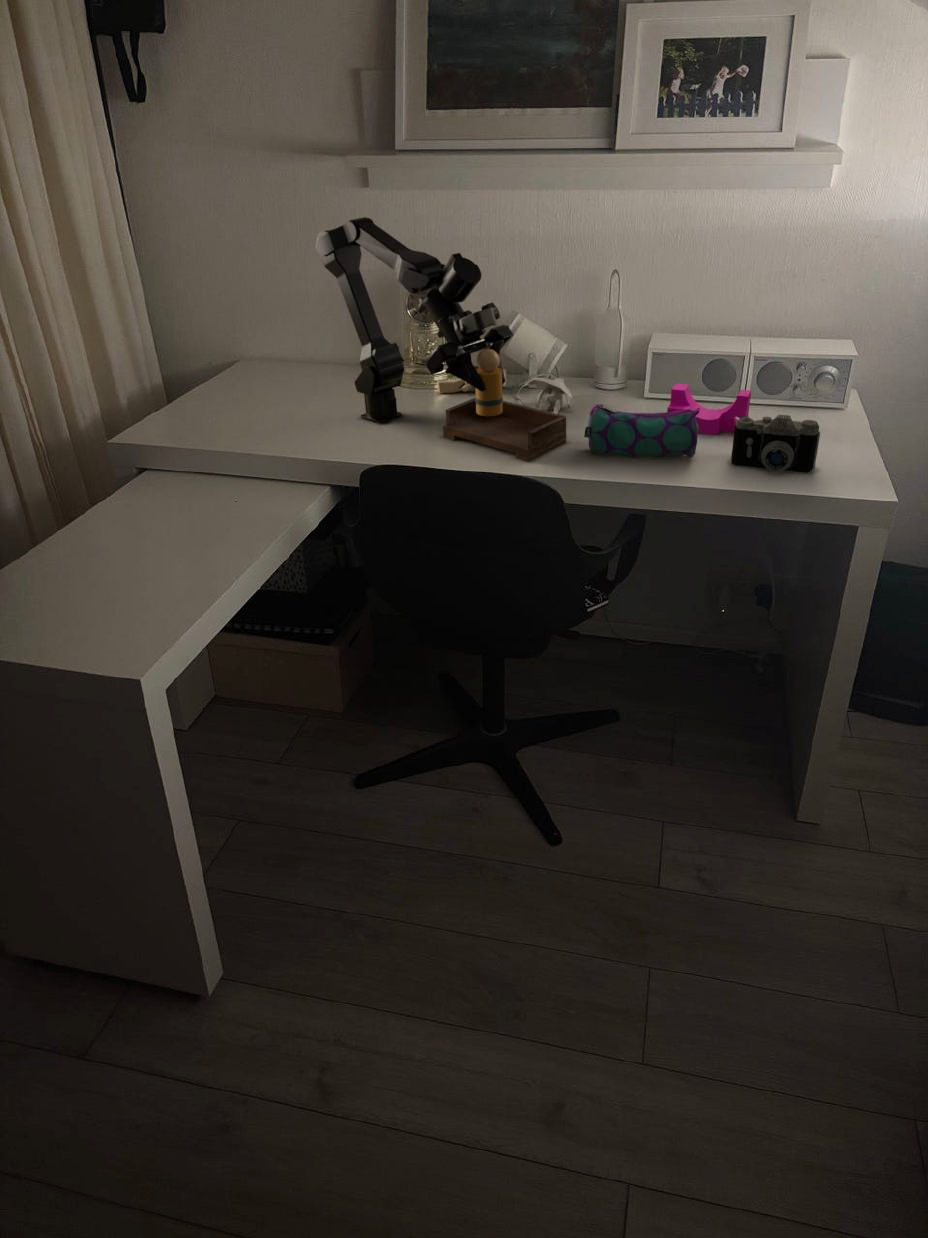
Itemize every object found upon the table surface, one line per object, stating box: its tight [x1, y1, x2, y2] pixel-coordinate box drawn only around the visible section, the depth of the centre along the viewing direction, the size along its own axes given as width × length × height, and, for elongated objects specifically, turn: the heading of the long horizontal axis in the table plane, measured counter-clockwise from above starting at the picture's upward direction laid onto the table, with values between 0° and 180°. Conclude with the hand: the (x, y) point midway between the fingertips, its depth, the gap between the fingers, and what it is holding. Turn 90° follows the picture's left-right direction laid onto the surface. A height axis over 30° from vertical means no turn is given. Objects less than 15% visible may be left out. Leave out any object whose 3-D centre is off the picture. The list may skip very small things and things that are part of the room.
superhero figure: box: [524, 377, 573, 414], centre depth 206 cm, size 10×9×20 cm
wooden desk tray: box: [442, 397, 568, 463], centre depth 193 cm, size 22×12×6 cm, turn 48°
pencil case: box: [583, 403, 700, 459], centre depth 183 cm, size 21×9×10 cm, turn 78°
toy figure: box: [436, 365, 504, 395], centre depth 220 cm, size 7×6×15 cm
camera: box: [730, 414, 821, 474], centre depth 175 cm, size 15×7×10 cm, turn 69°
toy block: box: [666, 383, 752, 436], centre depth 194 cm, size 15×6×8 cm, turn 66°
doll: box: [474, 349, 504, 416], centre depth 182 cm, size 5×5×12 cm
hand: (493, 386), depth 181 cm, fingers closed on doll, 5 cm apart
